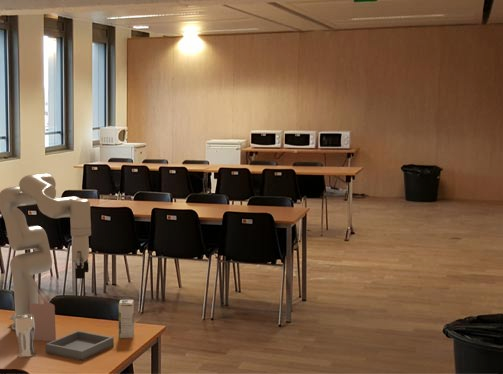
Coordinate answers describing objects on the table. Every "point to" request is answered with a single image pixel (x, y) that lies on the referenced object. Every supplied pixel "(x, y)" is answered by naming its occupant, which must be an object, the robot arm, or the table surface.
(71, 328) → the table surface
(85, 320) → the table surface
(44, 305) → the greeting card
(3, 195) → the robot arm
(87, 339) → the tray
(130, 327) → the syrup box
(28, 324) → the beer glass
